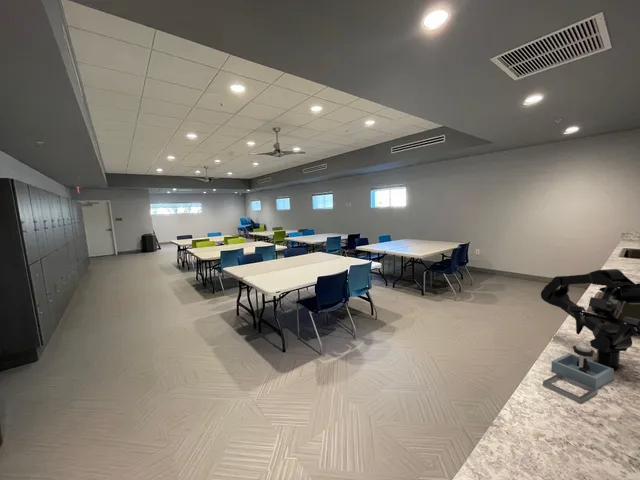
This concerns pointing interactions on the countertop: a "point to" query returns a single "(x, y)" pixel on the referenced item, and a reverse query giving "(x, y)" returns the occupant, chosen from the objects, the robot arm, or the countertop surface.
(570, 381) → the silver picture frame
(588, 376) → the plastic bin
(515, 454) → the countertop surface
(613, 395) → the countertop surface
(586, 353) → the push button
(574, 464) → the countertop surface
